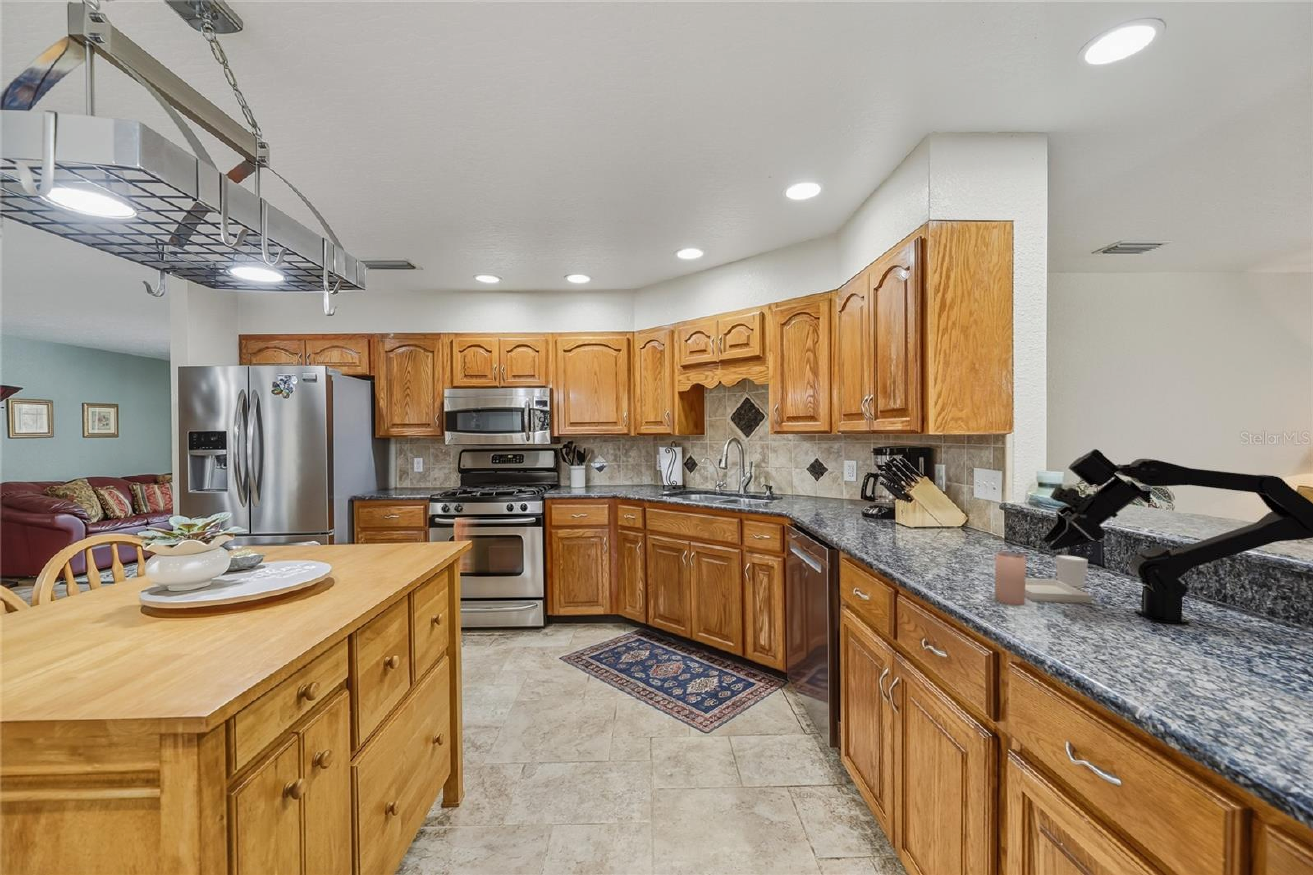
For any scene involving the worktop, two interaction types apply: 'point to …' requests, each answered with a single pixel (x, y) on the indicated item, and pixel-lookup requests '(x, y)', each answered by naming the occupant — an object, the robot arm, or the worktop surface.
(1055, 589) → the tray
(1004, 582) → the deep cup
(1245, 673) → the worktop surface
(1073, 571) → the white short cylinder
